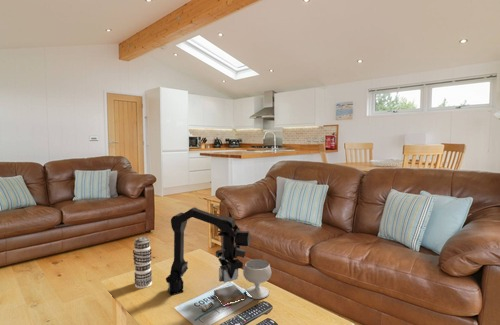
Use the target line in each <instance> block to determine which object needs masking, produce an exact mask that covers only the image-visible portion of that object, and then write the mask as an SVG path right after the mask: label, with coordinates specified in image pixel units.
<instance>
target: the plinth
mask: <svg viewBox="0 0 500 325" xmlns="http://www.w3.org/2000/svg"><path fill="white" fill-rule="evenodd" d="M213 293H214V294H215V295H216V296H217V297H218V299H219V300H220V301H221V303H222V304H223V305H225V304H227V303H230V302H235V301H238V300H241V299H244V298H245V295H246V294H244V293H243V292H242V291H241V290H240V289H239V288H238V287H237V286H236V285H235V284H233V285H229V286H225V287H222V288H218V289H215V290H214V291H213ZM214 294H213V295H214ZM218 299H217V300H218ZM245 299H246V298H245ZM221 303H220V304H221ZM222 304H221V305H222Z"/></svg>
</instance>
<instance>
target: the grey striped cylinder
mask: <svg viewBox="0 0 500 325" xmlns="http://www.w3.org/2000/svg"><path fill="white" fill-rule="evenodd" d="M150 241H151V239H150V238H149V237H148V236H138V237H137V238H136V239H135V240H134V241H133V244H134V247H133V248H134V249H133V251H132V254H133V255H132V256H133V264H134V267H135V269H134V285H135V286H134V287H135V288H137V289H144V288H147V287H150V286H151V285H152V284H153V280H152V278H153V276H152V267H151V263H152V248H151V244H150V243H151V242H150Z"/></svg>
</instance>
